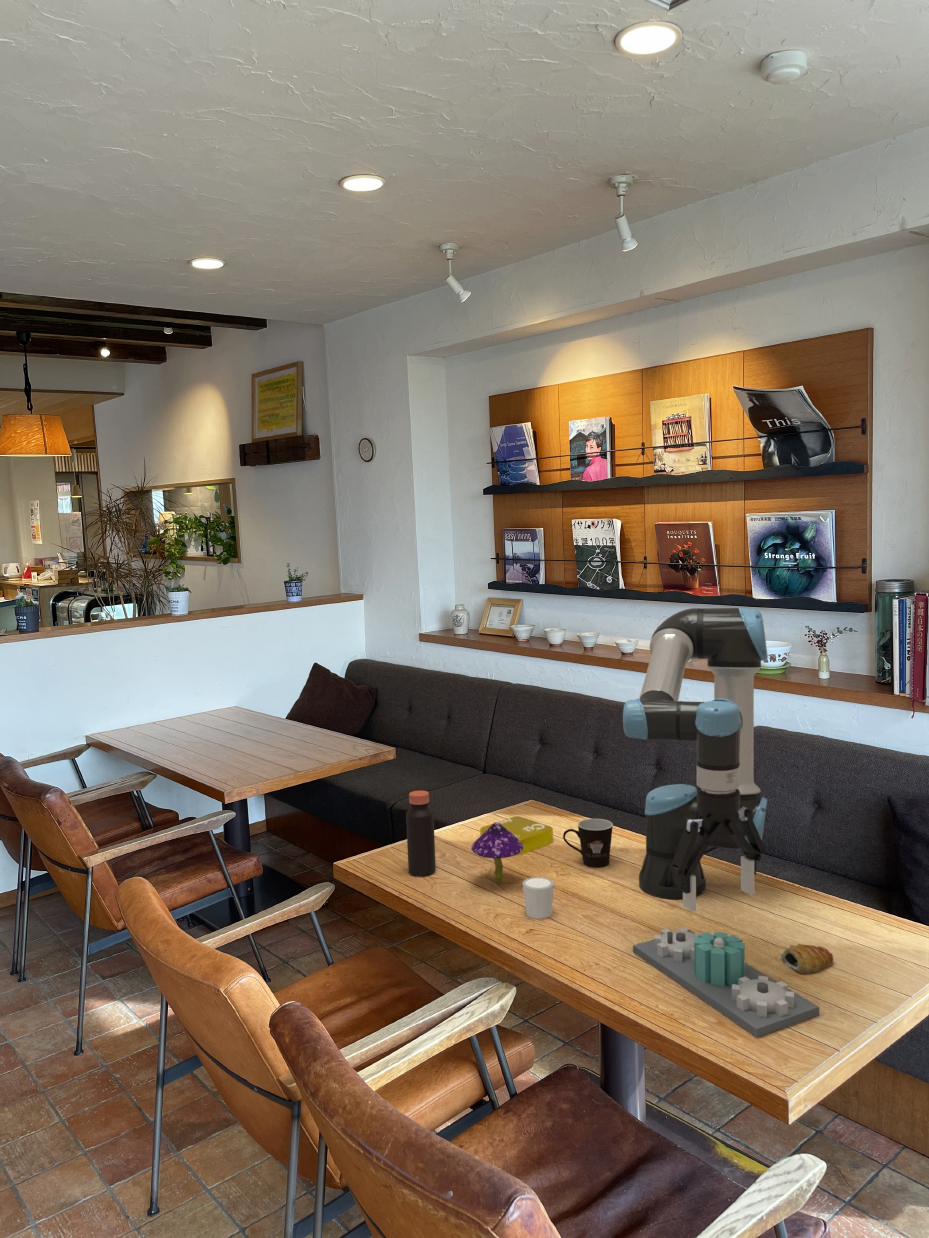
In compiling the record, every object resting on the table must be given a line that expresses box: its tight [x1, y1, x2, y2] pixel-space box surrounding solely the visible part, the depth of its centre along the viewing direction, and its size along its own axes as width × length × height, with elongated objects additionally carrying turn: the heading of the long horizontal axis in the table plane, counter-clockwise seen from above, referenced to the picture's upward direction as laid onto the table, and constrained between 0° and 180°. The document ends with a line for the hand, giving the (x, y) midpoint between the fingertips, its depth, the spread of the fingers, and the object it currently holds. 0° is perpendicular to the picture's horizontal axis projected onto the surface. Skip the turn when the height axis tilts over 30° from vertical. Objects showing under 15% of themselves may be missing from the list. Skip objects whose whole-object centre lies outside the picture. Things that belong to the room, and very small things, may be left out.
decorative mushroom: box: [470, 821, 524, 884], centre depth 216 cm, size 12×12×15 cm
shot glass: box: [522, 876, 555, 920], centre depth 200 cm, size 7×7×7 cm
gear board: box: [632, 927, 820, 1038], centre depth 168 cm, size 14×34×8 cm, turn 26°
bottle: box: [405, 790, 437, 877], centre depth 225 cm, size 7×7×20 cm
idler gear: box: [694, 931, 746, 986], centre depth 168 cm, size 9×9×6 cm
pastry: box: [780, 943, 834, 975], centre depth 173 cm, size 9×7×4 cm
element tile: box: [479, 815, 554, 856], centre depth 244 cm, size 15×15×5 cm
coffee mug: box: [562, 818, 614, 869], centre depth 228 cm, size 12×9×10 cm
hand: (719, 900), depth 167 cm, fingers open, 13 cm apart
